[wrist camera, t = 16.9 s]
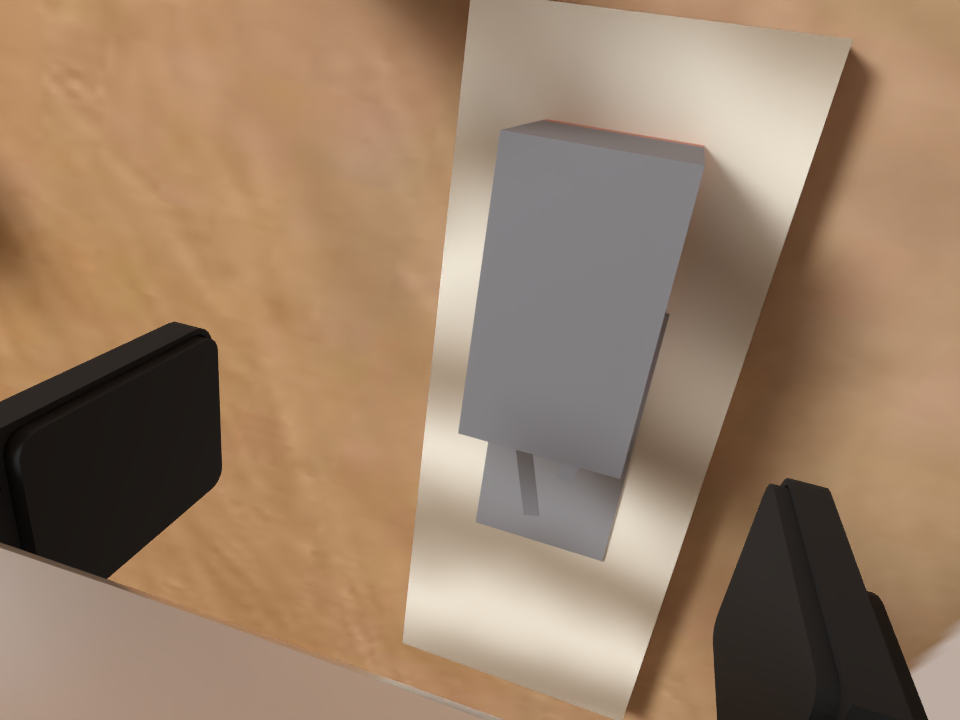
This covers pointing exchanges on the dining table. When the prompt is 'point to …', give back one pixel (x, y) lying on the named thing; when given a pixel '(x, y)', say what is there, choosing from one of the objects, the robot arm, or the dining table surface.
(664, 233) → the block
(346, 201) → the dining table surface
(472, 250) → the board
